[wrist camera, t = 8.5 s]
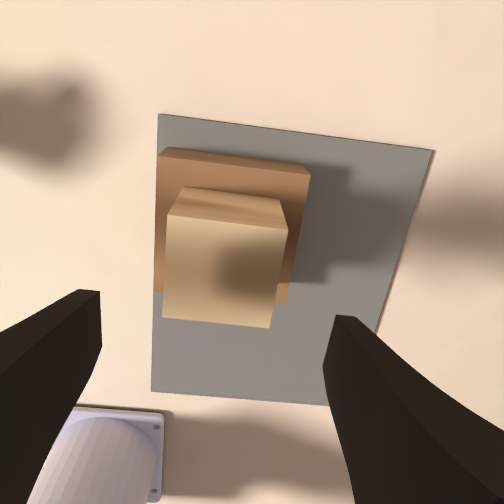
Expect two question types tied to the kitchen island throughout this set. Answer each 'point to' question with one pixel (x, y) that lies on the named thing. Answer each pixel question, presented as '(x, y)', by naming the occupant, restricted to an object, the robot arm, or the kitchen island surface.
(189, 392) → the mat
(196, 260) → the maple block
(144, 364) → the kitchen island surface
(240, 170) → the walnut slab
